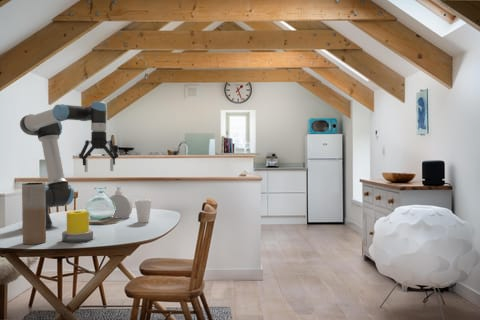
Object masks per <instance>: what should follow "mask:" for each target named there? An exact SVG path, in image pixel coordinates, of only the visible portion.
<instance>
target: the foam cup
mask: <svg viewBox="0 0 480 320" xmlns="http://www.w3.org/2000/svg"><path fill="white" fill-rule="evenodd" d="M134 203H135V209H136V217H137V223H140V224H144V223H143V222H147V223H150V217H151V216H150V215H151V207H152V199H145V198H143V199H141V198H140V199H135V201H134Z"/></svg>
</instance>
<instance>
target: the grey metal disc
mask: <svg viewBox="0 0 480 320" xmlns="http://www.w3.org/2000/svg"><path fill="white" fill-rule="evenodd" d="M93 240H94V231H93V230H92V229H89V232H86V233H79V234H70V233H67V230H64V231H63V232H62V233H61V241H62V243H67V244H68V243H69V244H79V243H87V242H91V241H93Z"/></svg>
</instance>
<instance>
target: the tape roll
mask: <svg viewBox="0 0 480 320" xmlns="http://www.w3.org/2000/svg"><path fill="white" fill-rule="evenodd" d="M89 230H90V212H89V210H72V211H67V212H66V231H67V233H70V234H79V233H86V232H89Z"/></svg>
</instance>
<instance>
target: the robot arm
mask: <svg viewBox="0 0 480 320" xmlns="http://www.w3.org/2000/svg"><path fill="white" fill-rule="evenodd" d="M106 105H107V104H106V102H105V101H91V103H90V106H83V105H82V106H81V105H72V104H71V105H69V104H63V103H62V104H55V105H54V107H53V108H52V109H48V110H45V111H43V112H40V113H36V114H34V113H33V114H32V113H30V114H28V115H25V116H23V117H22V118H21V120H20V122H19V128H20V129H21V131H22V132H23V133H24V134H26V135H29V136H37V140H38V141H39V142H41V145H42V146H41V147H42V152H43V156H44V162H45V167H46V172H47V178H48V179H47V180H48V182H47V184H45V199H46V230H47V229H51V228H52V227H53V221H52V218H51V216H50V213H49V209H50V208H54V207H64V206H68V205H71V203H73V200H74V198H75V190H74V187H73V186H72V185H71V184H69V181H68V180H67V179H66V178H65V173H64V170H63V164H62V159H61V153H60V147H59V143H58V140H59V138H60V135H61V134H62V133H63V131H62V130H63V124H62V123H61V122H63V121H64V122H65V121H68V120H69V121H81V122H88V121H90V122H91V123H90V124H91V125H90V126H91V128H90V129H91V137H90V138H91V140H88V139H87V140H85V141H84V145H83V148H82V149H81V152H80V154H79V155H78V158H79V159H81V160H82V165H83V166H84V172H85V173H88V172H89V171H88V170H89V169H88V166H89V163H88V161H89V160H88V157H89V156H90V155H91V153H92V152H94V150H98V149H99V150H104V151H105V153H107V155H109V157H110V159H109V160H110V161H109V165H110V166H109V171H110V172H114V166H115V165H116V159H117V158H119V154H118V153H117V151H116V149H115V146H114V144H113V143H114V142H113V141H112V140H107V132H106V131H107V106H106ZM90 144H91V146H90V147H89V145H90ZM107 145H108V146H109V148H110V150H111V151H110V150H109V148H108V147H107ZM88 147H89V149H88ZM87 149H88V151H87ZM86 151H87V152H86ZM21 227H22V230H23V225H21Z"/></svg>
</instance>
